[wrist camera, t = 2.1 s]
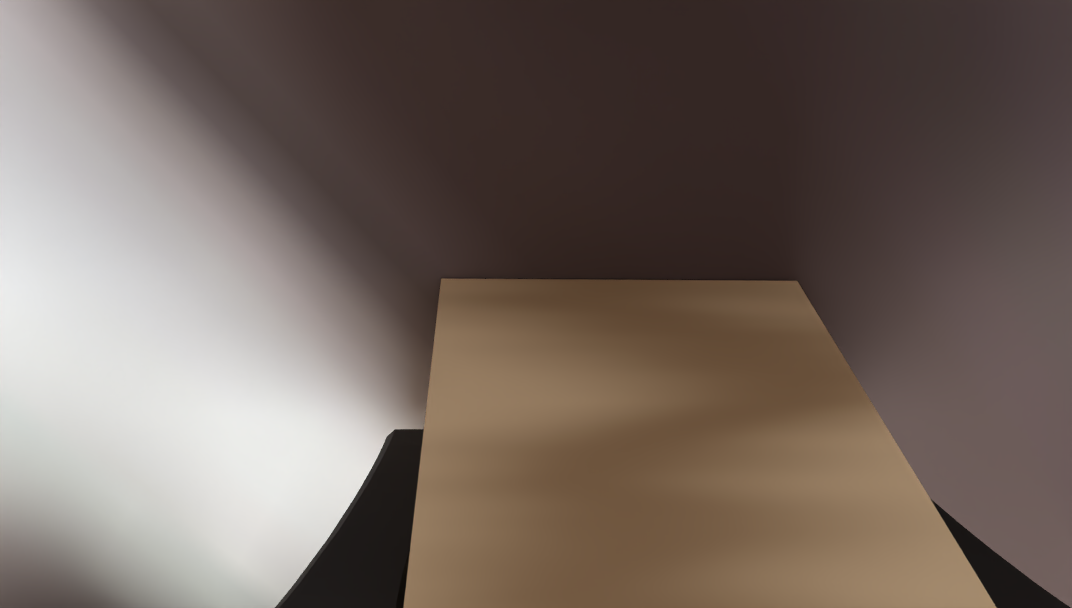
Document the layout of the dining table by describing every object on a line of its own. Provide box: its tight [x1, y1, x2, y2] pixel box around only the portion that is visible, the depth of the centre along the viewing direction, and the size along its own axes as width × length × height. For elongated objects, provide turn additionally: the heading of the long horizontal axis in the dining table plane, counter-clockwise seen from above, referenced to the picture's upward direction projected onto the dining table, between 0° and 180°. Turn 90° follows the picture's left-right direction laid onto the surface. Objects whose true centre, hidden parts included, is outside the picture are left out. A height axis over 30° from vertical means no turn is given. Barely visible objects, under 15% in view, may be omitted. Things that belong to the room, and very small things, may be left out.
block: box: [403, 279, 997, 608], centre depth 11 cm, size 5×5×6 cm
